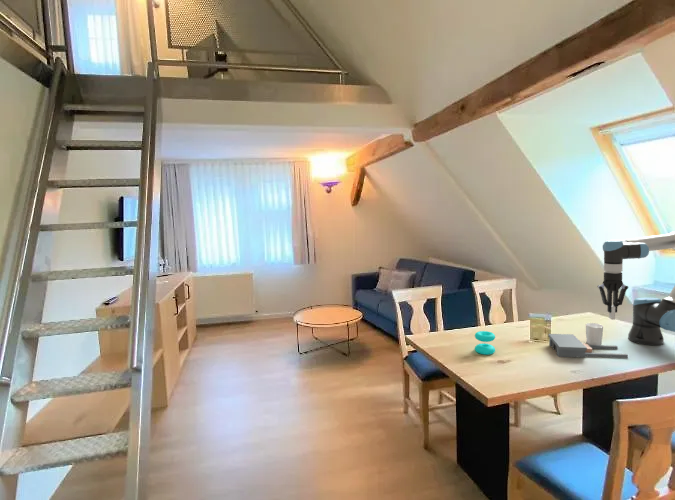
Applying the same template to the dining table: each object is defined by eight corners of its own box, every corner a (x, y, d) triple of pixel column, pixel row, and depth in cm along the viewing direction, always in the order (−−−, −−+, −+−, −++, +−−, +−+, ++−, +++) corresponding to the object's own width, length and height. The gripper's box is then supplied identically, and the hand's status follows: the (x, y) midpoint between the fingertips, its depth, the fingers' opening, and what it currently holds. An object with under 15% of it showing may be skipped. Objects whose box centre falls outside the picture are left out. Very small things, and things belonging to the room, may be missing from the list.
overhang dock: (613, 345, 214) (613, 335, 213) (631, 360, 194) (631, 349, 194) (548, 343, 221) (548, 333, 220) (559, 358, 202) (559, 346, 201)
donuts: (478, 329, 220) (497, 332, 214) (478, 347, 221) (497, 350, 215) (472, 334, 212) (491, 337, 206) (472, 353, 213) (491, 356, 207)
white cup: (605, 346, 214) (605, 327, 213) (588, 345, 216) (589, 327, 214) (599, 341, 222) (599, 323, 220) (582, 340, 223) (583, 322, 222)
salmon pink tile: (586, 349, 211) (586, 343, 211) (592, 354, 204) (592, 348, 203) (556, 348, 215) (556, 342, 214) (561, 353, 207) (561, 348, 207)
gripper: (624, 270, 203) (623, 316, 205) (595, 270, 206) (594, 316, 208) (631, 272, 195) (630, 321, 198) (601, 273, 198) (600, 320, 201)
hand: (612, 318), depth 203 cm, fingers closed
